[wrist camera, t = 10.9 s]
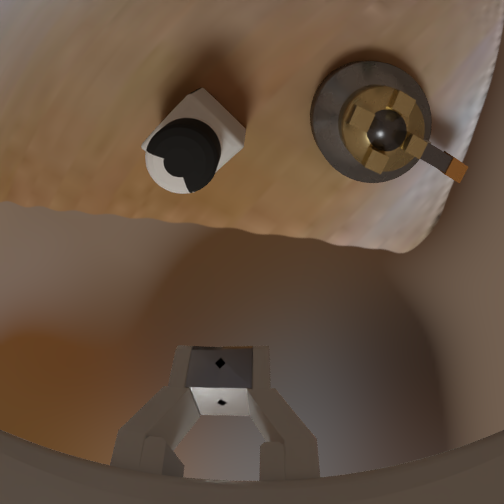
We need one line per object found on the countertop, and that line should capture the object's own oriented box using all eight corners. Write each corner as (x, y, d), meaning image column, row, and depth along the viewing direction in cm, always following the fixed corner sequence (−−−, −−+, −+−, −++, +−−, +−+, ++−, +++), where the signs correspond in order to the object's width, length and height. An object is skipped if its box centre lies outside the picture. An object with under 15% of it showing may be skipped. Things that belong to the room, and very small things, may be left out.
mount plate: (309, 56, 29) (314, 56, 27) (425, 69, 28) (437, 72, 26) (309, 174, 37) (312, 183, 34) (415, 177, 36) (424, 185, 34)
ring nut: (324, 145, 32) (332, 155, 29) (357, 70, 27) (369, 72, 24) (436, 197, 35) (450, 211, 32) (468, 136, 30) (485, 145, 27)
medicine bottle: (202, 85, 31) (176, 99, 21) (247, 129, 34) (243, 163, 24) (159, 130, 34) (119, 164, 24) (203, 170, 37) (182, 219, 27)
